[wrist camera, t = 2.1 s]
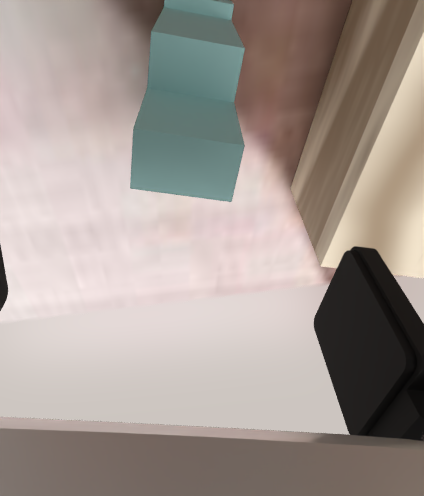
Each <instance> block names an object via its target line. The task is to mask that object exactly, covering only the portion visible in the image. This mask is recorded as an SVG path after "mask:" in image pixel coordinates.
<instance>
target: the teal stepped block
mask: <svg viewBox="0 0 424 496" xmlns="http://www.w3.org/2000/svg"><path fill="white" fill-rule="evenodd" d="M233 7H234V4H233V2H232V1H230V0H164V8H163V10H162V12H161V14H160V16H159V17H158V19H157V21H156V23H155V25H154V27H153V29H152V31H151V43H150V57H149V71H148V85H147V90H146V93H145V96H144V99H143V102H142V105H141V108H140V111H139V114H138V117H137V120H136V122H135V125H134V128H133V146H132V164H131V183H130V188H131V189H138V190H146V191H153V192H161V193H168V194H176V195H183V196H191V197H198V198H206V199H213V200H220V201H228V202H232V197H233V193H234V189H235V184H236V180H237V176H238V171H239V167H240V163H241V159H242V154H243V150H244V146H245V145H244V141H243V137H242V133H241V129H240V125H239V121H238V117H237V113H236V109H235V104H234V100H235V95H236V90H237V85H238V80H239V75H240V70H241V65H242V60H243V55H244V50H245V48H244V46H243V44H242V42H241V39H240V37H239V35H238V33H237V31H236V29H235V27H234V25H233V23H232V21H231V19H232V13H233Z"/></svg>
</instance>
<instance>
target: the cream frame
mask: <svg viewBox="0 0 424 496" xmlns="http://www.w3.org/2000/svg"><path fill="white" fill-rule="evenodd" d="M291 192H292V194H293V197H294V199H295V202H296V204H297V207H298V210H299V212H300V215H301V217H302V220H303V222H304V225H305V228H306V230H307V233H308V235H309V238H310V240H311V243H312V245H313V248H314V251H315V253H316V256H317V258H318V261H319V263H320V266H322V267H331V268H337V267H338V265H339V263H340V261H341V259H342V256H343V254H344V253H345V252H346V251H348V250H349V251H350V250H351V248H353V247H354V246H358V247H367V248H374V249H376V250H377V251H378V253H379V254H380V256H381V257H382V259H383V261H384V262H385V264H386V265H387V267H388V268H389V270H390V272H391V273H392V275H400V276H409V277H418V278H424V0H352V3H351V6H350V9H349V12H348V15H347V18H346V21H345V24H344V27H343V31H342V34H341V37H340V40H339V43H338V46H337V49H336V52H335V55H334V58H333V61H332V64H331V67H330V70H329V73H328V76H327V79H326V82H325V85H324V88H323V91H322V94H321V97H320V100H319V103H318V106H317V110H316V113H315V116H314V119H313V122H312V125H311V128H310V131H309V134H308V137H307V140H306V143H305V146H304V149H303V152H302V155H301V158H300V161H299V164H298V167H297V170H296V173H295V176H294V179H293V182H292V186H291Z"/></svg>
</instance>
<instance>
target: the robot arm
mask: <svg viewBox="0 0 424 496" xmlns="http://www.w3.org/2000/svg"><path fill="white" fill-rule="evenodd" d="M7 295H8V285H7V280H6V274H5V268H4V263H3V257H2V251H1V245H0V311H1V309H2V307H3V305H4V303H5V301H6V299H7ZM314 329H315V332H316V335H317V338H318V341H319V344H320V347H321V350H322V353H323V356H324V359H325V362H326V365H327V368H328V371H329V374H330V377H331V380H332V383H333V387H334V390H335V392H336V395H337V399H338V402H339V405H340V408H341V411H342V413H343V417H344V420H345V423H346V425H347V429H348V431H349V433H350V435H344V434H326V433H309V432H308V433H307V432H291V431H274V430H255V429H239V428H219V427H200V426H181V425H162V424H142V423H122V422H102V421H100V422H99V421H81V420H59V419H37V418H16V417H0V496H424V324H423V322H422V321H421V319H420V317H419V316H418V314H417V313H416V311H415V310H414V308H413V307H412V305H411V303H410V302H409V300H408V298H407V297H406V295H405V294H404V292H403V291H402V289H401V287H400V286H399V284H398V283H397V281H396V279H395V278H394V276H393V275H392V273H391V272H390V270H389V268H388V267H387V265H386V264H385V262H384V261H383V259H382V257H381V256H380V254H379V253H378V251H377V250H376V249H374V248H367V247H358V246H354V247H353V248H351V250H350V251H349V250H348V251H346V252H345V253H344V254H343V256H342V259H341V261H340V263H339V265H338V267H337V270H336V272H335V274H334V276H333V278H332V280H331V283H330V285H329V287H328V289H327V292H326V293H325V296H324V298H323V300H322V302H321V305H320V307H319V309H318V311H317V313H316V315H315V318H314Z"/></svg>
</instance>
